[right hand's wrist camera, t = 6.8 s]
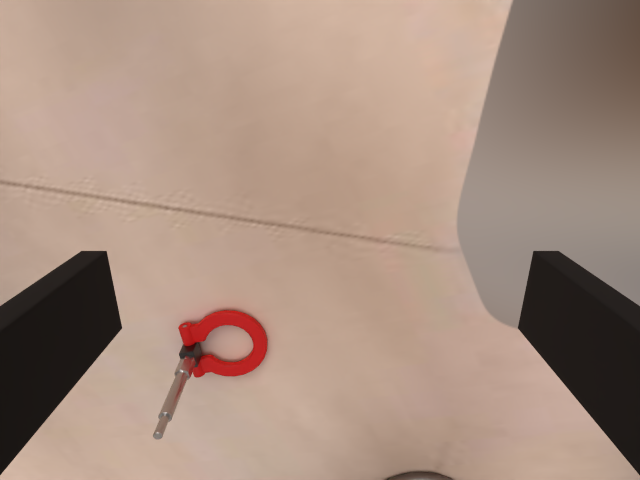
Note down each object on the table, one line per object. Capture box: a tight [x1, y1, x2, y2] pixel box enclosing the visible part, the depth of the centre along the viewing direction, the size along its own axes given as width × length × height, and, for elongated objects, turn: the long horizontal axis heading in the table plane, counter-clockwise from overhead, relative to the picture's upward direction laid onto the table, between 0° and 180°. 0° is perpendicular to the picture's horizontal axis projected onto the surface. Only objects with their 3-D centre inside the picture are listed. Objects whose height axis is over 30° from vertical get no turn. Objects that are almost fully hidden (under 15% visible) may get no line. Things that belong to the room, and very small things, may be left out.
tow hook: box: [153, 310, 267, 439], centre depth 40 cm, size 8×13×9 cm
